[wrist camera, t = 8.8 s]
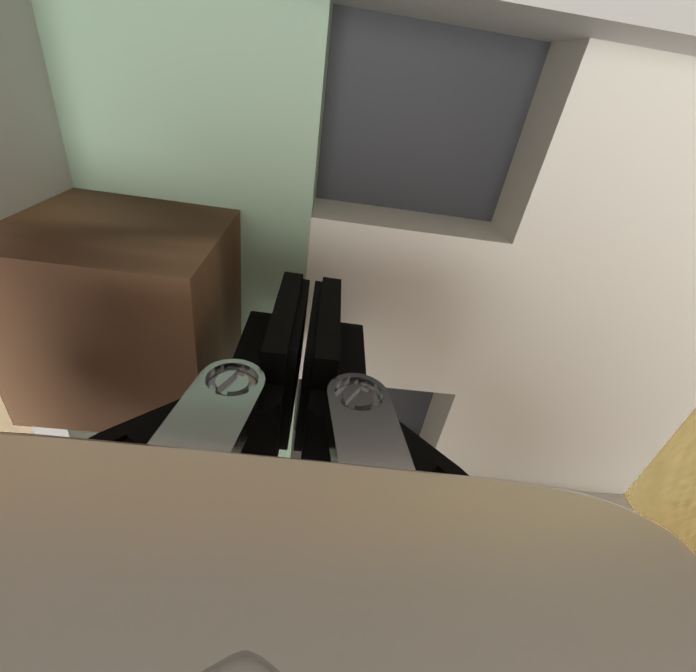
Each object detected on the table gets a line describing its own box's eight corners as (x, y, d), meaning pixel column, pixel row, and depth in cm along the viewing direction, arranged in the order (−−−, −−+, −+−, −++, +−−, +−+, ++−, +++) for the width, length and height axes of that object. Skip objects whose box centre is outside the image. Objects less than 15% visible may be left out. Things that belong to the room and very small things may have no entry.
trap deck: (874, 55, 12) (1219, 48, 7) (586, 464, 22) (652, 572, 17) (28, -102, 10) (-251, -251, 5) (138, 425, 20) (76, 534, 15)
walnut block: (240, 209, 11) (189, 279, 8) (241, 340, 14) (203, 441, 10) (73, 187, 11) (-65, 249, 7) (104, 325, 14) (13, 425, 10)
